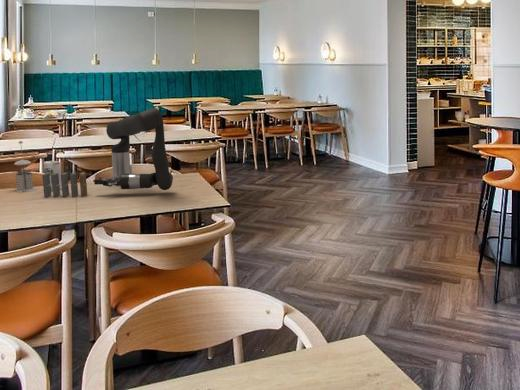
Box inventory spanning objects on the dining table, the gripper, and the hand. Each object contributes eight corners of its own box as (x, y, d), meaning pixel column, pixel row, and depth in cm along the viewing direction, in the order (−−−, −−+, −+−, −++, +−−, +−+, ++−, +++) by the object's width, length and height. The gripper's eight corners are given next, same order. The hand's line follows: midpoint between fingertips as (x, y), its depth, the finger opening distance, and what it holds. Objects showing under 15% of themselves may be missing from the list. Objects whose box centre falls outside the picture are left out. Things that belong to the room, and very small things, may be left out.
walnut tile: (87, 194, 274) (85, 172, 272) (84, 196, 269) (83, 174, 267) (83, 194, 274) (81, 172, 272) (80, 196, 269) (79, 174, 267)
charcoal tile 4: (60, 195, 274) (58, 172, 271) (57, 197, 269) (55, 174, 266) (56, 195, 273) (54, 172, 271) (53, 197, 269) (51, 174, 266)
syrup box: (45, 190, 285) (42, 161, 282) (54, 188, 290) (52, 160, 287) (53, 191, 283) (50, 162, 279) (62, 189, 288) (60, 161, 285)
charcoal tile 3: (69, 194, 274) (67, 172, 271) (66, 197, 269) (64, 174, 266) (65, 194, 274) (63, 172, 271) (62, 197, 269) (60, 174, 266)
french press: (34, 187, 293) (30, 139, 288) (36, 191, 283) (32, 141, 278) (14, 188, 289) (9, 140, 284) (15, 193, 279) (10, 142, 274)
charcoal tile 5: (51, 195, 273) (49, 173, 271) (48, 197, 268) (46, 174, 266) (47, 195, 273) (45, 173, 271) (44, 197, 268) (42, 174, 266)
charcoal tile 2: (78, 194, 274) (76, 172, 272) (75, 196, 269) (73, 174, 267) (74, 194, 274) (72, 172, 272) (71, 197, 269) (69, 174, 267)
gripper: (132, 171, 277) (97, 171, 276) (128, 176, 264) (90, 176, 263) (133, 186, 279) (98, 186, 278) (129, 191, 266) (91, 192, 265)
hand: (94, 182), depth 270 cm, fingers closed
